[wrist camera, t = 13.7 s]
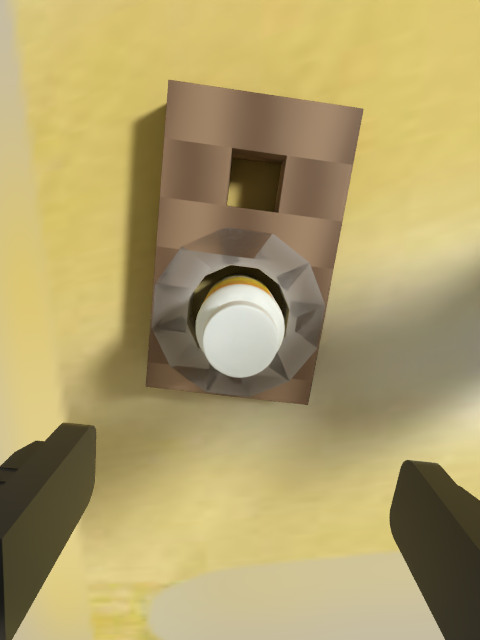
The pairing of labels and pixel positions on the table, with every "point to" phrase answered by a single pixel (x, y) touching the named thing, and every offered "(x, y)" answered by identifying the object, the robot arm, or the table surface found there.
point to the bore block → (247, 228)
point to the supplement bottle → (239, 326)
